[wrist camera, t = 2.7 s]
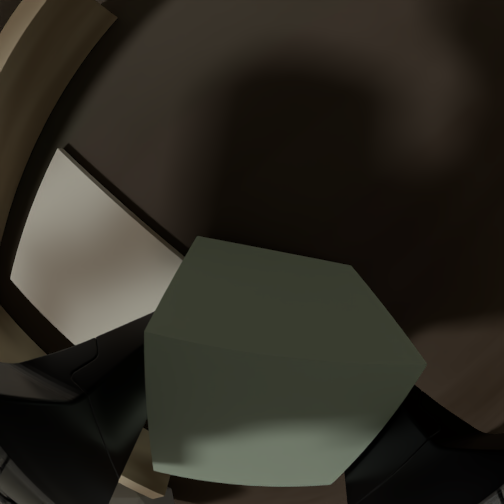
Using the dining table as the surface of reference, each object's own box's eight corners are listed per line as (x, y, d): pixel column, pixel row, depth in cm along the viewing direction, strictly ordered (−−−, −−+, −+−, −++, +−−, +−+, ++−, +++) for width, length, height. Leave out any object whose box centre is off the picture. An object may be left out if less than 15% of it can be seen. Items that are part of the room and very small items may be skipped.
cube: (351, 265, 9) (426, 364, 4) (307, 377, 11) (331, 484, 6) (197, 235, 9) (143, 331, 4) (182, 359, 10) (153, 470, 6)
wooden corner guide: (414, 266, 9) (467, 315, 6) (166, 453, 13) (152, 499, 10) (95, 7, 6) (43, -27, 3) (-24, 292, 11) (-60, 317, 8)
